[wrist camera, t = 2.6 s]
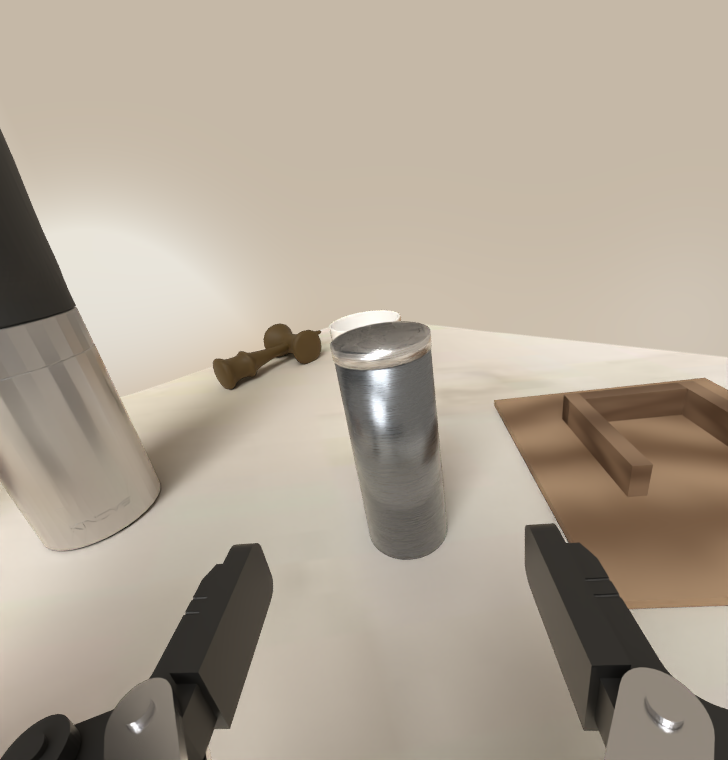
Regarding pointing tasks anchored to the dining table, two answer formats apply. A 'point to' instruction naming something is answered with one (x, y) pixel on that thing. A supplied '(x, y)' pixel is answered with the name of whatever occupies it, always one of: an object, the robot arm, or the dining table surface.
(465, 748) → the dining table surface
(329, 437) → the dining table surface
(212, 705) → the robot arm
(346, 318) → the white cup
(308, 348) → the kendama
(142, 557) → the dining table surface
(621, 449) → the walnut bracket
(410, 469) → the graphite canister
